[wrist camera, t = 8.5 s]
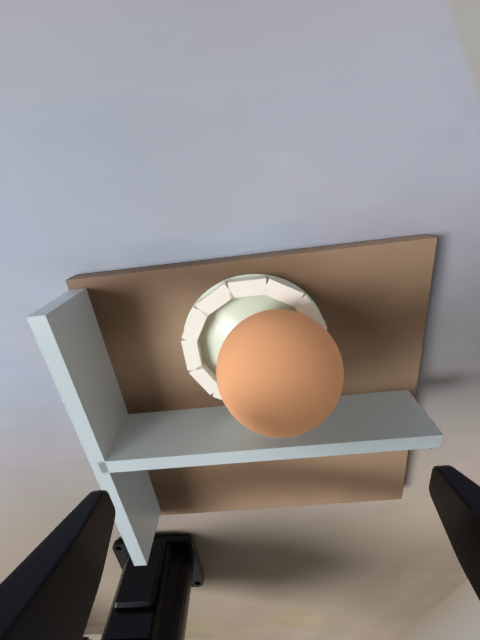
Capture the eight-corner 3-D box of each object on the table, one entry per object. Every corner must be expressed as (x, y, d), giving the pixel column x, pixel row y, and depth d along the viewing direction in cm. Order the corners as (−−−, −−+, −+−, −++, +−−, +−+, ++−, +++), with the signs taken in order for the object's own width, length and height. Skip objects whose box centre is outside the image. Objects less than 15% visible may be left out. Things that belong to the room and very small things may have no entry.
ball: (302, 374, 18) (370, 438, 13) (212, 404, 17) (251, 489, 12) (298, 283, 16) (378, 320, 11) (193, 309, 14) (232, 365, 10)
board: (395, 485, 23) (428, 553, 18) (153, 502, 24) (134, 570, 19) (425, 234, 15) (493, 253, 11) (75, 274, 16) (18, 306, 12)
